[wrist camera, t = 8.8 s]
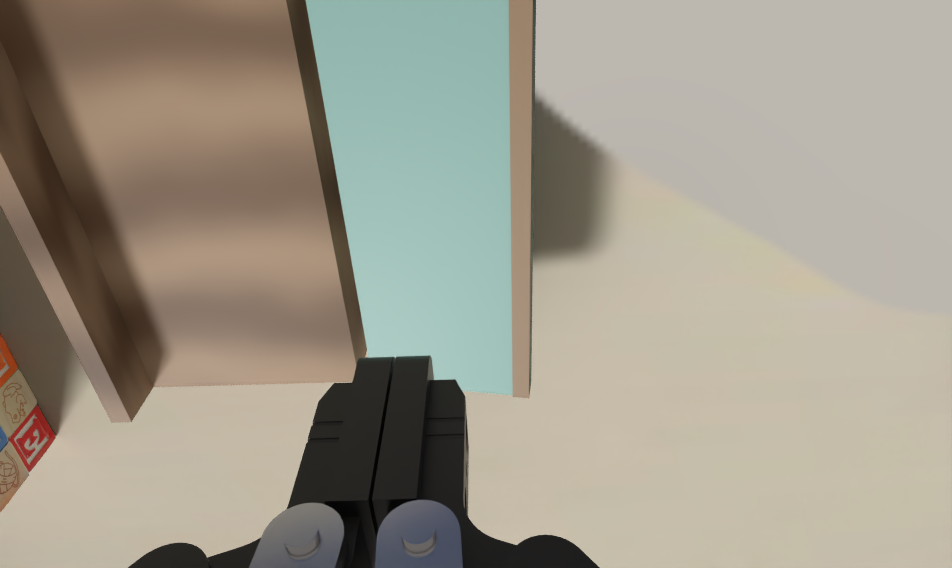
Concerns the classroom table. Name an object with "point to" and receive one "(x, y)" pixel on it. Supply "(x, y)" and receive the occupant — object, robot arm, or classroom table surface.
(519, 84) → the tailgate
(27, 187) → the cart bed
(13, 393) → the stack of blocks
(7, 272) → the classroom table surface
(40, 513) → the classroom table surface
